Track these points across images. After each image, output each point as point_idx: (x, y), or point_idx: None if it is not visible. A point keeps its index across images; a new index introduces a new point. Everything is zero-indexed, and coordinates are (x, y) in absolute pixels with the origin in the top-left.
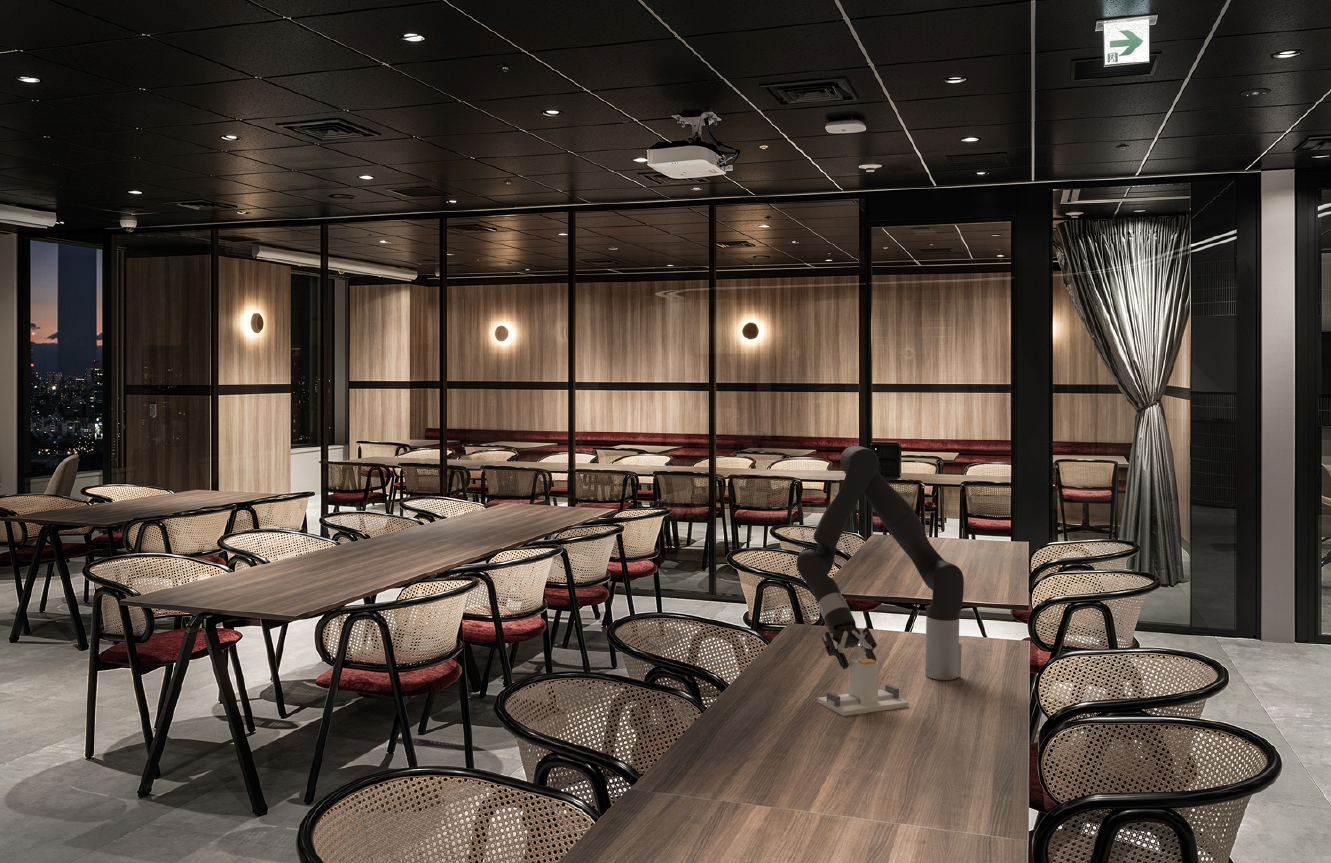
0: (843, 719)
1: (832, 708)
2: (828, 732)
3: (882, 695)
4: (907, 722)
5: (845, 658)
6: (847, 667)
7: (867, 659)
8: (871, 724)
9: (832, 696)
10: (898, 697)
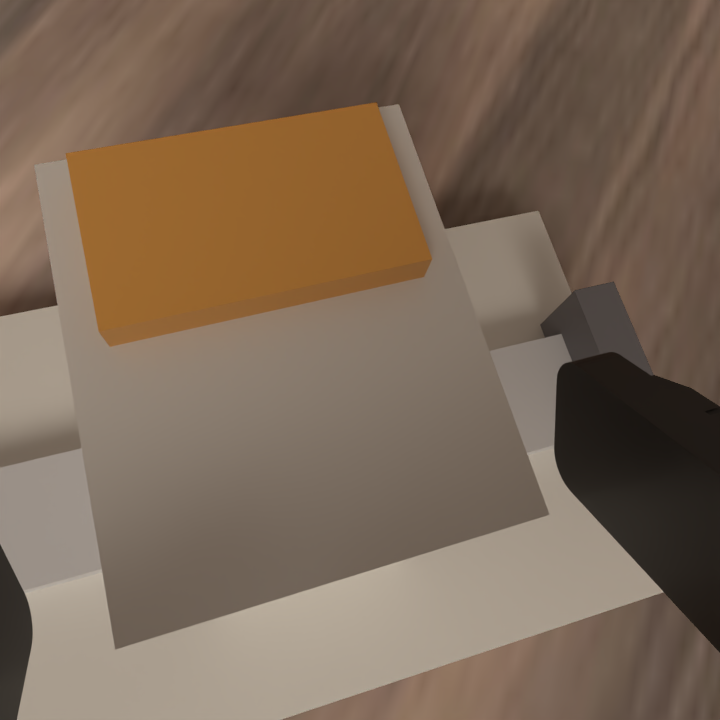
0: (537, 186)
1: None
2: (673, 12)
3: (68, 456)
4: (114, 62)
5: (669, 422)
6: (558, 412)
7: (200, 300)
8: (379, 74)
9: (631, 343)
10: None
